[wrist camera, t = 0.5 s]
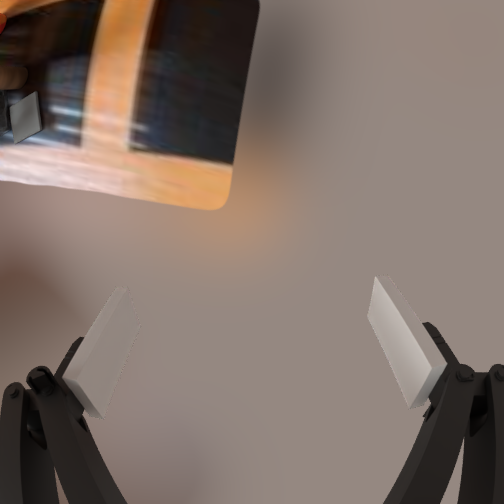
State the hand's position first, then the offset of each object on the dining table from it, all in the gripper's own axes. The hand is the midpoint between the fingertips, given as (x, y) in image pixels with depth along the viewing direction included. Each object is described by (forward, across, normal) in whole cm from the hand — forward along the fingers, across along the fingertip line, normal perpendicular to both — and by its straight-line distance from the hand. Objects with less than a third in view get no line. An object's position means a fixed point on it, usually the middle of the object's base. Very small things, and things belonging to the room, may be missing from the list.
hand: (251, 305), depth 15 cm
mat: (+27, -37, +16) cm, 49 cm away
